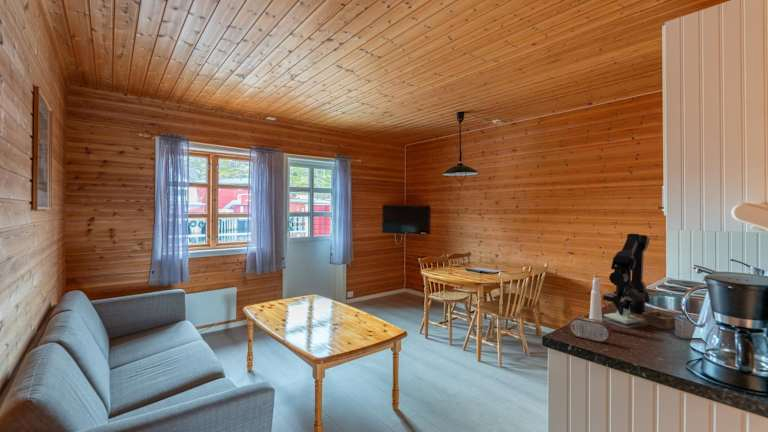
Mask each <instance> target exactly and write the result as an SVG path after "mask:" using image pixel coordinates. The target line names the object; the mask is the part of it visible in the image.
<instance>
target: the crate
mask: <svg viewBox="0 0 768 432" xmlns="http://www.w3.org/2000/svg"><path fill="white" fill-rule="evenodd" d="M641 318H642V319H644V321H641V323H644V324H647V326H648V325H649V326H652V327H656V328H658V329H661V330H664V329H665V330H672V329H675V315H674V314H670V313H667V312H662V311H660V310H656V311H655V310H654V311H653V310H652V311H646V312H645V313H642V314H641ZM671 328H672V329H671ZM665 330H664V331H665Z"/></svg>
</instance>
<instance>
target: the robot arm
mask: <svg viewBox="0 0 768 432" xmlns="http://www.w3.org/2000/svg"><path fill="white" fill-rule="evenodd" d="M649 245H650V237H649V236H648V235H647V234H639V233H627V235H626V241H625V243H624V245H623V247H622V249H621V250H619V251H617V252H616V254H615V256H613V259H612V263H611V266H610V269H611V270H614V272H611V273H610V274H609V276H608V277H609V279H608V280H609V282H610V283H611V284H612V285H613V286H615V291H613V293H611V292H610V293H604V294H603V296H602V299H603V301H607V302H610V303H613V305H614V306H615V309H616V311H617V310H618V312H619V314H620V315H623V309H627V310H630V313H634V314H636V315H642V313H645V312H647V311H646V304H647V303H650V294H649V292H648V290H647V286H646V284H645V282H644V280H643V278H644V277H643V276H644V258H645V257H644V255H645V254H644V253H645V251H646V250H647V249H648V248H649Z"/></svg>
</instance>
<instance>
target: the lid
mask: <svg viewBox="0 0 768 432" xmlns="http://www.w3.org/2000/svg"><path fill="white" fill-rule="evenodd" d="M603 316H604V317H605V318H610V320H613V321H616V322H619V323H622V324H625V325H626V324H633V323H637V322H642V321H644V319H642V317H638V316H635V315H632V314H631V312H630V309H629V310H627V309H623V315H620V314H619V312H618V310H617V309H616V312H613V313H610V312H609V313H605V314H603Z"/></svg>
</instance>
